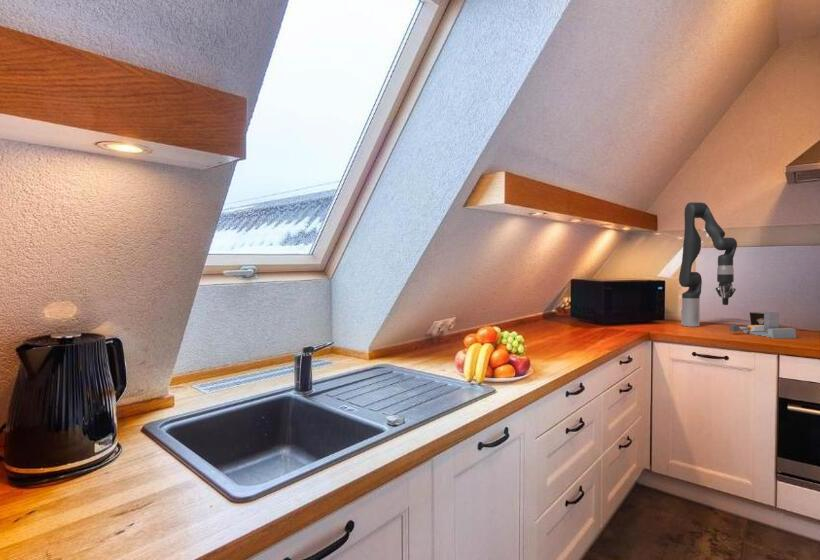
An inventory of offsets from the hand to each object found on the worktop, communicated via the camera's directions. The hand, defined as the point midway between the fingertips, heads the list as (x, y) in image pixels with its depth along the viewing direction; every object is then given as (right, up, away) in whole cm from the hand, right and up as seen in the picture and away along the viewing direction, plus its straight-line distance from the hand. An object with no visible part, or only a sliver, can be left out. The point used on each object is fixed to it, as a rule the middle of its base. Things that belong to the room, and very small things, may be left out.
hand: (725, 304), depth 253 cm
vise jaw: (+10, -14, -7) cm, 18 cm away
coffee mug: (+25, -15, +7) cm, 30 cm away
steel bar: (+15, -14, -13) cm, 24 cm away
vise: (+15, -16, -12) cm, 25 cm away
